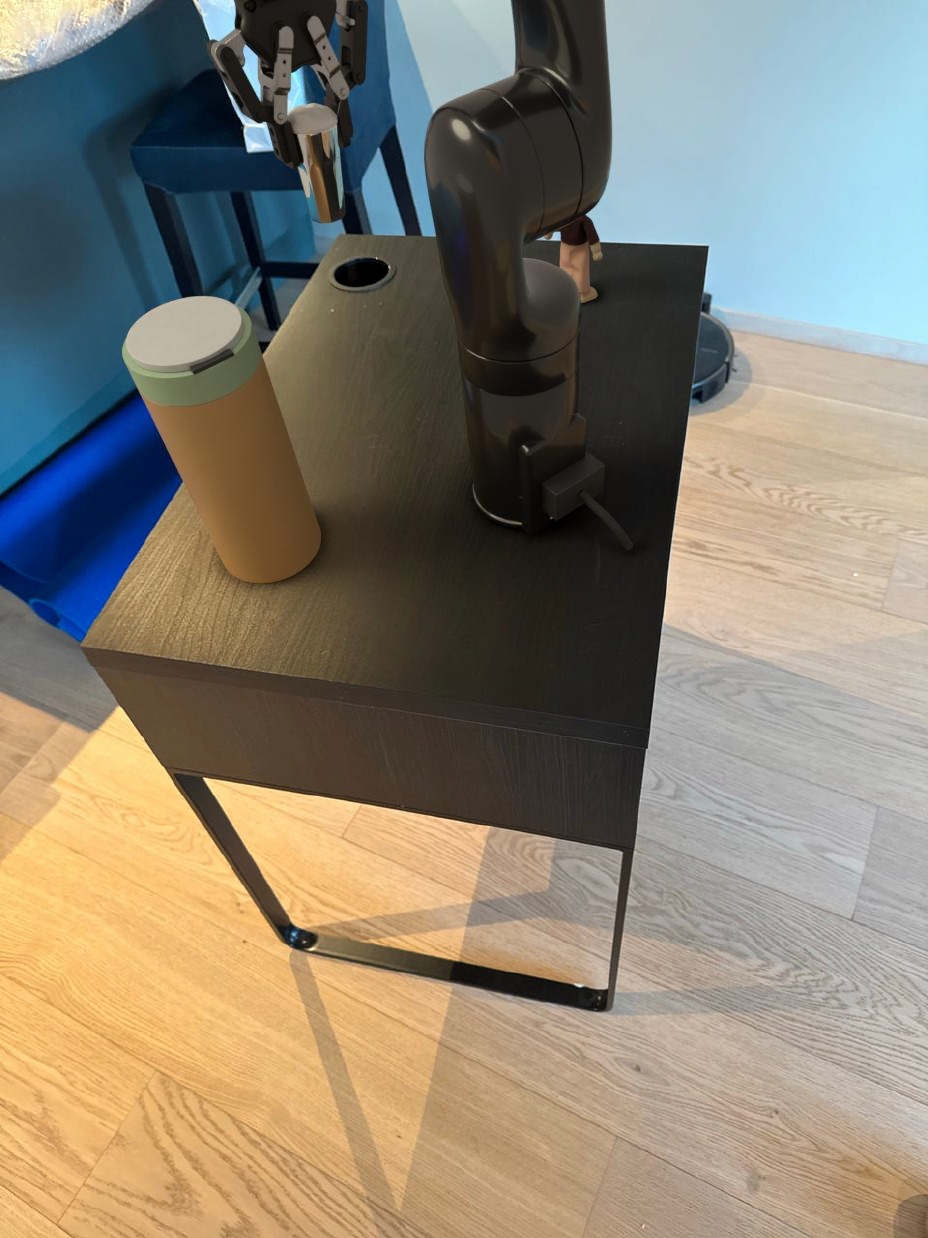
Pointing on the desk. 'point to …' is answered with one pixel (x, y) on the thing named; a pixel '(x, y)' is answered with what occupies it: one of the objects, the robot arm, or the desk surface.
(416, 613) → the desk surface
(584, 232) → the grandmother figurine
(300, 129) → the milkshake
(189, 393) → the lidded travel tumbler
